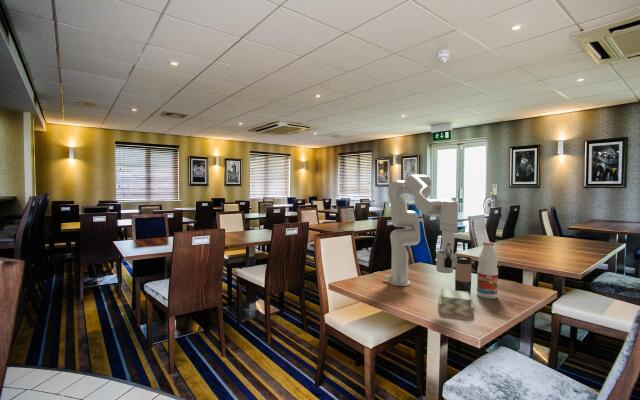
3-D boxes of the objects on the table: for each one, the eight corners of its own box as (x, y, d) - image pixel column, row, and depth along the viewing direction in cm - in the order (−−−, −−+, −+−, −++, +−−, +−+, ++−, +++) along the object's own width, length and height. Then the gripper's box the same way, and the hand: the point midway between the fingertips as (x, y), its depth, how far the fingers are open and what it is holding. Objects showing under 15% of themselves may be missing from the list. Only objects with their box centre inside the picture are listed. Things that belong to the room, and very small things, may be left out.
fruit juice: (496, 294, 172) (497, 241, 171) (498, 300, 163) (499, 244, 162) (476, 292, 176) (477, 240, 175) (477, 297, 167) (478, 243, 166)
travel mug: (470, 295, 171) (470, 257, 170) (471, 299, 164) (472, 260, 163) (454, 293, 173) (455, 255, 173) (455, 297, 166) (456, 258, 166)
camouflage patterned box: (439, 312, 146) (439, 297, 146) (438, 302, 159) (438, 288, 159) (473, 316, 141) (474, 300, 141) (470, 305, 155) (470, 291, 154)
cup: (433, 269, 153) (433, 251, 153) (451, 268, 156) (451, 250, 156) (442, 273, 146) (443, 254, 146) (461, 272, 149) (462, 253, 149)
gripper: (439, 225, 159) (439, 261, 160) (439, 229, 143) (439, 269, 144) (456, 226, 157) (455, 262, 157) (458, 230, 140) (457, 270, 141)
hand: (447, 265), depth 150 cm, fingers closed on cup, 7 cm apart
